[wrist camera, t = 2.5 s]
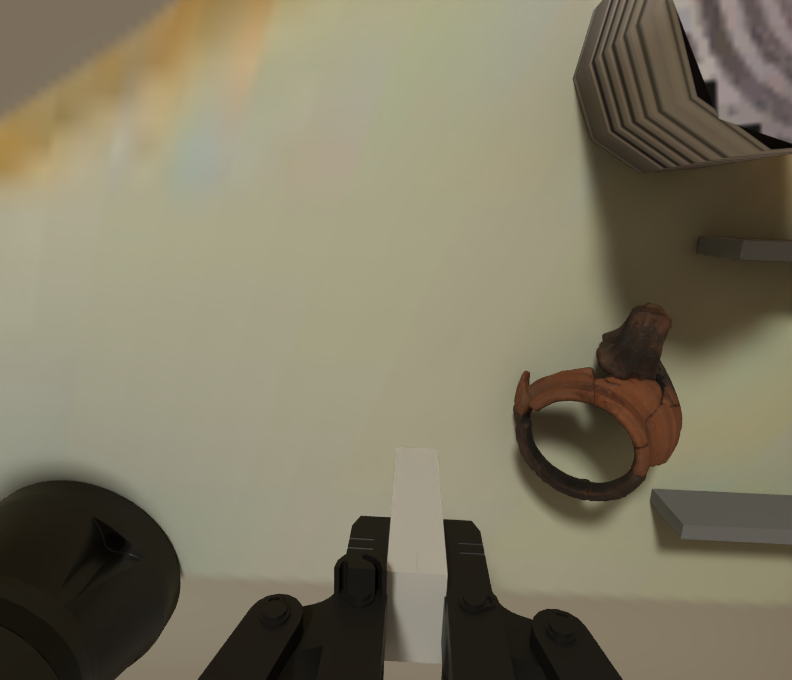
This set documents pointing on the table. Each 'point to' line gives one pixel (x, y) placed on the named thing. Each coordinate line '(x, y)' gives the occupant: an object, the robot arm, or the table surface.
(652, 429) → the brown ring with knob
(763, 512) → the box
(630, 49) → the can
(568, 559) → the table surface
